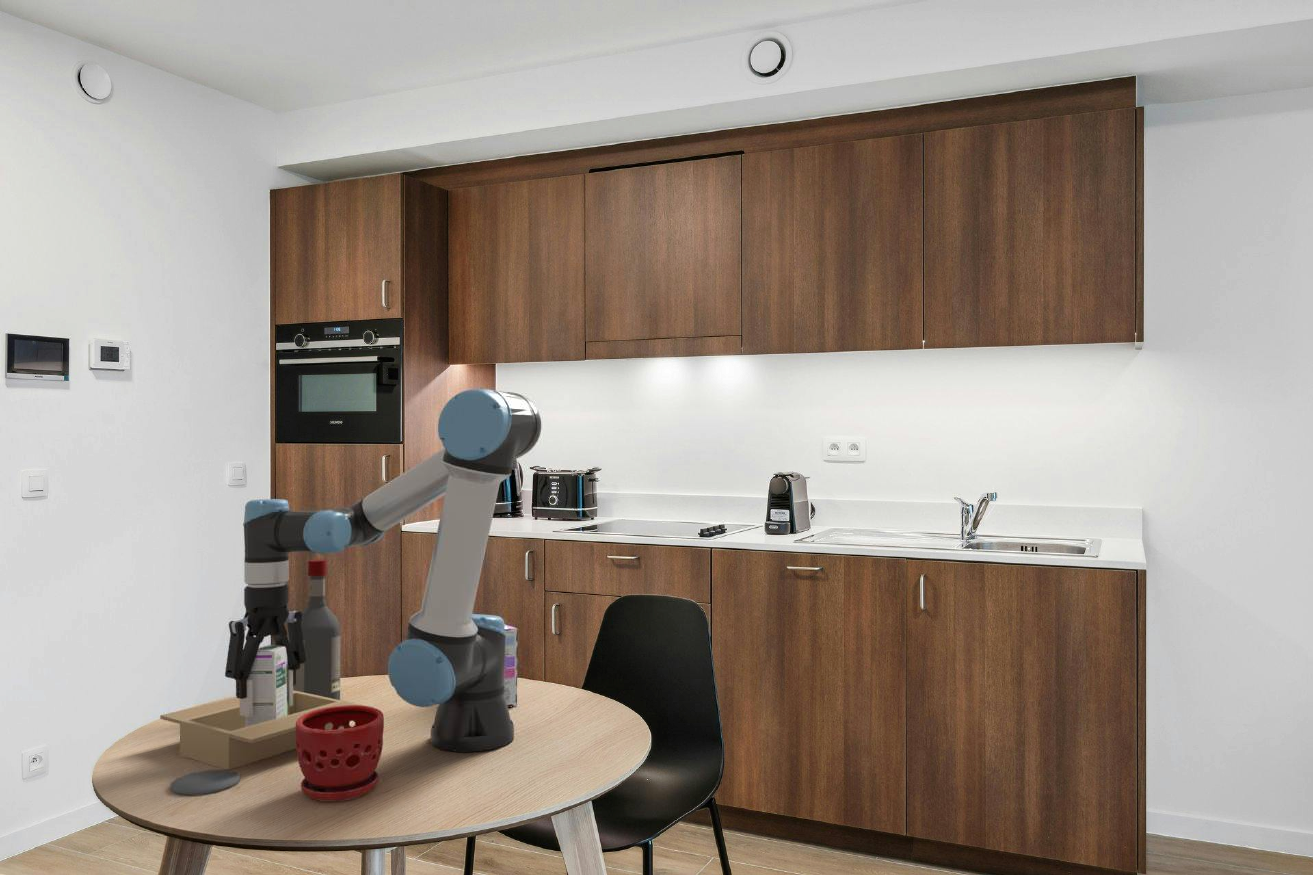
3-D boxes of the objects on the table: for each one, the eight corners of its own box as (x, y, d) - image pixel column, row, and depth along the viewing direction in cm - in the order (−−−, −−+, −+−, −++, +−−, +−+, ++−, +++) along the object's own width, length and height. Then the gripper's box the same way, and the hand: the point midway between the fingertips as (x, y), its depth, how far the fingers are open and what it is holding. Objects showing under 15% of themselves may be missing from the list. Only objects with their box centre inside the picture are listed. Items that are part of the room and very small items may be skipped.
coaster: (253, 780, 153) (253, 776, 153) (194, 800, 144) (194, 796, 144) (215, 769, 158) (215, 765, 158) (157, 787, 150) (157, 783, 150)
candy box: (518, 706, 197) (518, 627, 197) (492, 711, 194) (492, 630, 194) (490, 692, 209) (491, 617, 209) (465, 696, 205) (466, 620, 205)
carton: (366, 738, 175) (366, 706, 175) (250, 776, 155) (251, 739, 155) (276, 717, 189) (277, 686, 189) (159, 749, 168) (160, 715, 169)
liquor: (293, 711, 193) (295, 563, 194) (292, 699, 202) (293, 559, 202) (340, 706, 197) (341, 562, 197) (337, 695, 205) (338, 557, 206)
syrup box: (276, 732, 169) (276, 651, 169) (243, 732, 169) (243, 651, 169) (289, 723, 175) (289, 644, 175) (257, 723, 175) (257, 644, 175)
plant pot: (283, 789, 149) (284, 713, 149) (365, 772, 157) (366, 700, 157) (310, 815, 139) (311, 733, 139) (396, 795, 147) (397, 717, 147)
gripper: (301, 576, 183) (301, 695, 182) (201, 590, 165) (201, 721, 165) (326, 578, 179) (327, 700, 179) (227, 593, 161) (227, 727, 161)
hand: (266, 710), depth 172 cm, fingers closed on syrup box, 8 cm apart
